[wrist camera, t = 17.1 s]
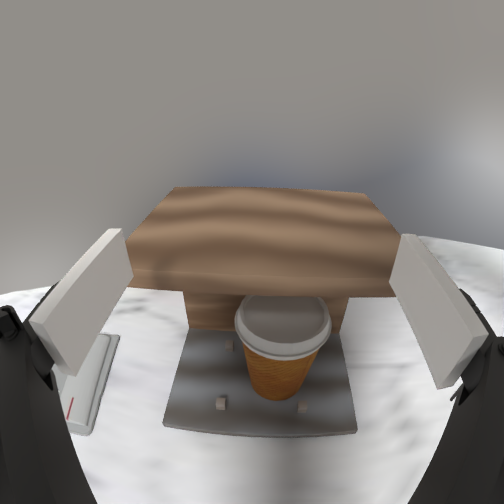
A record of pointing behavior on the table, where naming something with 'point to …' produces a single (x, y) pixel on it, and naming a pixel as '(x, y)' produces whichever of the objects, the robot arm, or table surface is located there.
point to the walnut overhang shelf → (262, 284)
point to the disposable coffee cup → (281, 340)
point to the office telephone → (86, 385)
